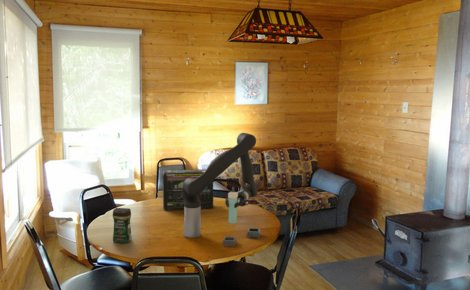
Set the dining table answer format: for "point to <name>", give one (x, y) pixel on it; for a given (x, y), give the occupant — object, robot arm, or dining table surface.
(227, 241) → the holster
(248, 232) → the tray
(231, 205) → the plug
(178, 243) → the dining table surface
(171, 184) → the router box
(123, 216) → the coffee jar
